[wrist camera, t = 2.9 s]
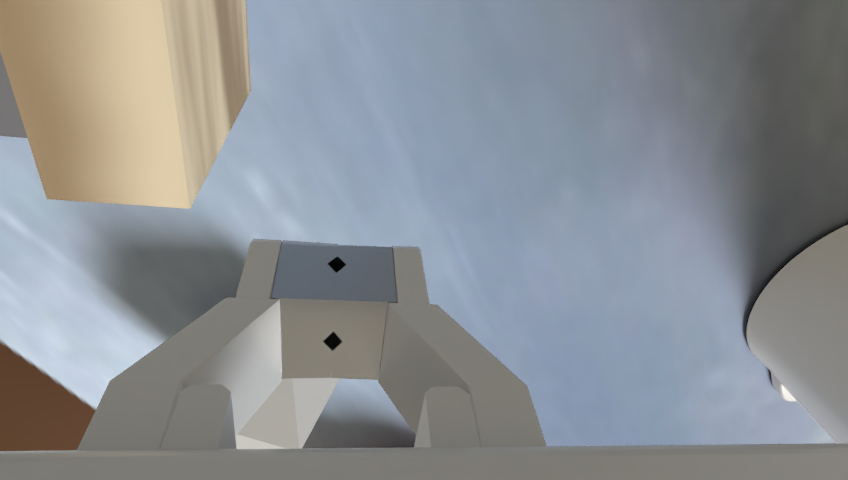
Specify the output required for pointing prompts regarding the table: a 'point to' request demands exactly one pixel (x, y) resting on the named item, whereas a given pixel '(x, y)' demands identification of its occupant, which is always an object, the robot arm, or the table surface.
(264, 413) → the die
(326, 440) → the table surface
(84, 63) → the maple block
